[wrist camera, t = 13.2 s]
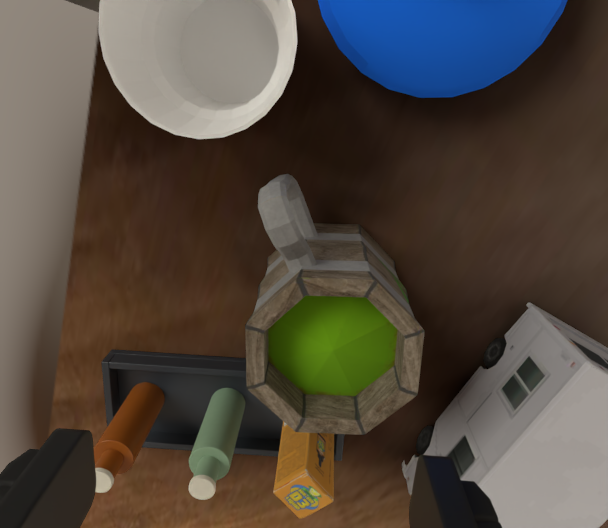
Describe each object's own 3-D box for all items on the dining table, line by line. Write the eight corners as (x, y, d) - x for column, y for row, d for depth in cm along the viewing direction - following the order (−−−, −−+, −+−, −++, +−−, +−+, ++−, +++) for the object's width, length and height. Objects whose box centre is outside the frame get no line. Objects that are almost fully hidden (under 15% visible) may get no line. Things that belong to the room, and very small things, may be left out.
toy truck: (363, 431, 44) (375, 524, 34) (545, 279, 39) (617, 339, 29) (463, 514, 46) (499, 621, 37) (645, 381, 41) (741, 466, 32)
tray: (118, 429, 45) (108, 445, 43) (111, 349, 42) (101, 361, 40) (341, 444, 45) (341, 461, 43) (348, 364, 42) (349, 378, 40)
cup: (166, -45, 33) (104, -100, 23) (316, -14, 33) (314, -56, 24) (153, 112, 36) (94, 118, 26) (289, 138, 36) (278, 154, 27)
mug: (415, 320, 40) (451, 408, 29) (292, 361, 42) (281, 460, 31) (350, 135, 36) (363, 154, 25) (214, 188, 38) (168, 230, 26)
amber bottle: (131, 410, 44) (78, 498, 34) (129, 380, 43) (74, 462, 33) (165, 412, 44) (122, 501, 34) (164, 383, 43) (119, 465, 33)
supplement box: (280, 404, 43) (268, 492, 33) (312, 383, 42) (309, 467, 33) (304, 430, 44) (299, 523, 34) (336, 409, 43) (339, 500, 33)
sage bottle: (211, 415, 43) (180, 505, 34) (210, 386, 42) (178, 469, 33) (245, 418, 43) (223, 508, 34) (245, 388, 42) (223, 473, 33)
